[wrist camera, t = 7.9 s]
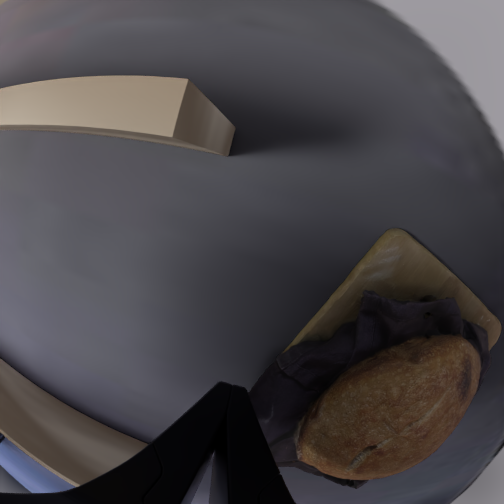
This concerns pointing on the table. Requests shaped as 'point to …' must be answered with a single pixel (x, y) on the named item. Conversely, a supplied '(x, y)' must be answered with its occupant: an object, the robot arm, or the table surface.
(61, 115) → the frame
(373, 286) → the bread roll
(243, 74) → the table surface
